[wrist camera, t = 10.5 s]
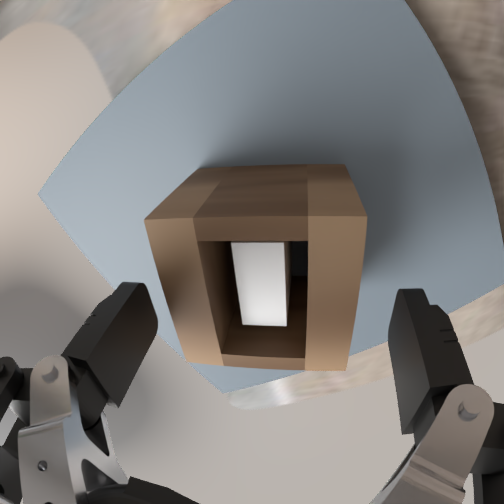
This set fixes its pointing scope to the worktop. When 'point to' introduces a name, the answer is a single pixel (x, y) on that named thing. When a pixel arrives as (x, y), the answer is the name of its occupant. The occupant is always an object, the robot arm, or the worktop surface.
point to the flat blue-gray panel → (293, 159)
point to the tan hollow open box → (261, 229)
